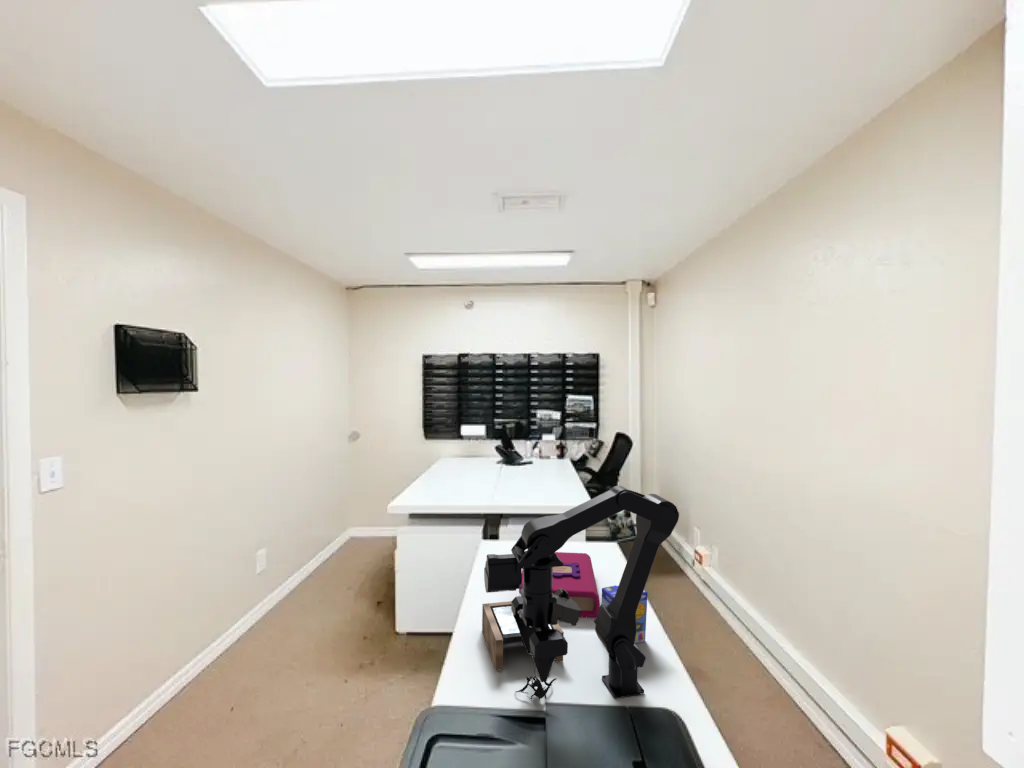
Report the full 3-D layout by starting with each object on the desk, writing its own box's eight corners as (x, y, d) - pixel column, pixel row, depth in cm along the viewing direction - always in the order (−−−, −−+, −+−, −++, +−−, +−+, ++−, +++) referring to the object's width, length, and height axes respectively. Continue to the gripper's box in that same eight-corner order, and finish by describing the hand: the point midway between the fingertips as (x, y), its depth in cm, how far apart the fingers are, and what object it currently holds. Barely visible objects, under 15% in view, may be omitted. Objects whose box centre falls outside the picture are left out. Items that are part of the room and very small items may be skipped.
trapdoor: (551, 632, 109) (551, 628, 109) (503, 637, 106) (503, 634, 106) (536, 606, 120) (536, 603, 120) (492, 611, 118) (492, 608, 118)
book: (590, 575, 155) (591, 551, 154) (599, 620, 127) (600, 591, 126) (523, 572, 156) (524, 548, 156) (518, 615, 128) (518, 587, 128)
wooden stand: (562, 661, 107) (563, 632, 107) (495, 670, 104) (496, 640, 104) (541, 623, 123) (541, 598, 123) (482, 630, 120) (482, 603, 120)
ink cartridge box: (611, 649, 112) (612, 587, 112) (598, 637, 118) (600, 577, 117) (647, 641, 116) (649, 581, 116) (633, 630, 121) (635, 572, 121)
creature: (511, 692, 99) (523, 709, 91) (509, 663, 100) (522, 678, 92) (547, 685, 101) (562, 701, 94) (545, 657, 102) (560, 671, 95)
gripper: (595, 606, 88) (594, 691, 89) (561, 565, 106) (560, 636, 107) (536, 612, 86) (534, 700, 86) (511, 570, 104) (510, 642, 104)
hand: (536, 666), depth 96 cm, fingers open, 9 cm apart
